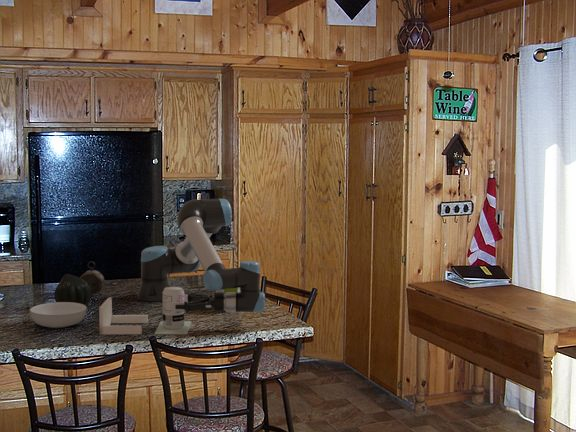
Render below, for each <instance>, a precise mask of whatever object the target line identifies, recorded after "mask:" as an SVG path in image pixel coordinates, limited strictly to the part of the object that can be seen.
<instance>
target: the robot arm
mask: <svg viewBox="0 0 576 432" xmlns="http://www.w3.org/2000/svg"><path fill="white" fill-rule="evenodd" d="M232 220H233V212H232V206H231V204H230V201H229V200H227V199H225V198H219V197H218V198H207V199H206V198H205V199H204V198H203V199H197V198H196V199H191V200H188V201H186V202H185V203H184V204H182V206H181V207H180V208H179V211H178V213H177V226H178V229H179V230H180V232H181V234H182V235H184V236H185V239H184V240H183V241H181V242H179V243H178V244H177V245H176V246H175V248H174V247H172V248H168V247H167V246H166V245H155V246H149V247H146V248H144V249H143V250H142V251H141V252H140V253H141V254H140V255H141V257H140V265H141V268H140V269H141V270H140V274H141V275H140V277H141V278H140V279H141V282H140V285H139V289H138V292H137V300H139V301H144V302H163V291H164V288H166V287H170V286H169V282H168V275H172V274H183V273H184V274H185V273H187V274H189V273H190V274H191V273H193V272H194V273H195V272H196V271H197V270H198V269H199V268H200V267H202V269H203V272H204V273H203V274H202V282H203V286H204V288H205V290H207V291H215V292H214V294H202V293H200V294H198V293H192V292H190V293H189V294H184V302H167V310H184V312H186V313H187V312H194V311H195V312H197V311H204V310H205V311H206V310H207V311H208V310H209V311H210V310H212V308H213V312H215V313H224V312H226V313H231V314H234V313H261V312H263V311H265V308H266V307H265V306H266V295H265V292H262V291H261V289H260V287H261V286H260V284H261V282H260V281H261V267H260V263H259V262H257V261H254V260H244V261H241V262H240V265H239V267H235V268H234V267H232V268H226V267H225V265H224V262H223V261H222V260H221V257H220V256H219V254H218V252H217V250H216V248H215V247H214V245H213V243H212V241H211V236H212V235H213V234H216V233H218V232H219V231H220V230H221V228H222V227H228V226H230V225H231V224H232ZM230 288H240V292H226V294H224V293H223V292H216V290H222V289H230Z"/></svg>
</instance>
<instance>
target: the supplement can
mask: <svg viewBox="0 0 576 432" xmlns="http://www.w3.org/2000/svg"><path fill="white" fill-rule="evenodd" d="M184 295H185V291H184V289H183V287H181V286H169V287H166V288H164V291H163V301H162V321H163V326H164V328H166V329H180V328H182V327H183V326H184V321H185V310H167V302H184Z"/></svg>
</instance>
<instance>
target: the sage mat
mask: <svg viewBox="0 0 576 432" xmlns="http://www.w3.org/2000/svg"><path fill="white" fill-rule="evenodd" d="M191 324H192V320H184V326H183V327H182V328H180V329H166V328H164V326H163V320H161V321H160V322H159V324H158V326H157V328H156V330H155V332H154V335H188V333H189V330H190V327H191Z"/></svg>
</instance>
